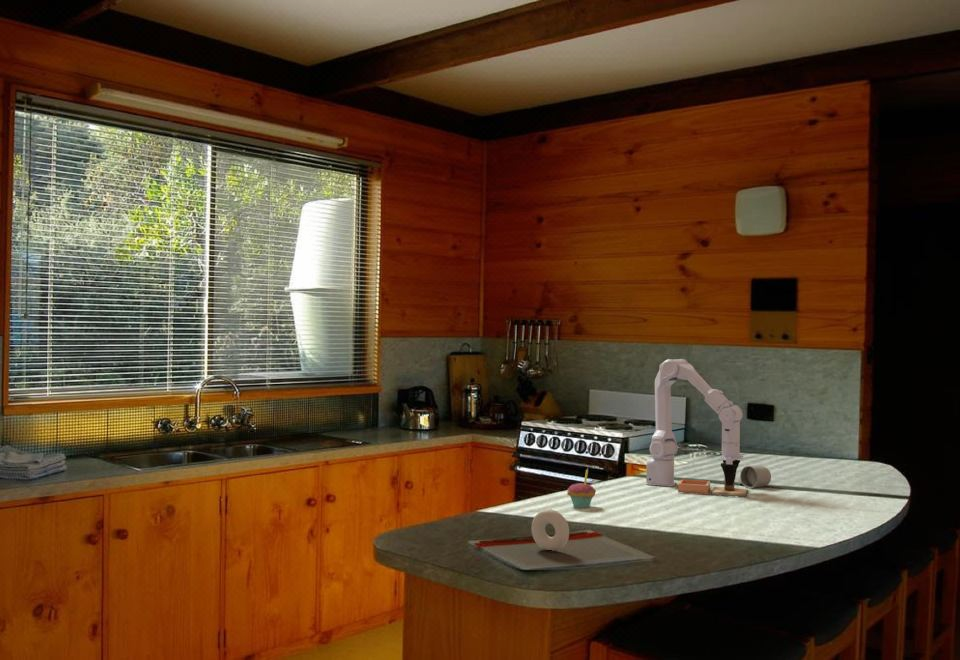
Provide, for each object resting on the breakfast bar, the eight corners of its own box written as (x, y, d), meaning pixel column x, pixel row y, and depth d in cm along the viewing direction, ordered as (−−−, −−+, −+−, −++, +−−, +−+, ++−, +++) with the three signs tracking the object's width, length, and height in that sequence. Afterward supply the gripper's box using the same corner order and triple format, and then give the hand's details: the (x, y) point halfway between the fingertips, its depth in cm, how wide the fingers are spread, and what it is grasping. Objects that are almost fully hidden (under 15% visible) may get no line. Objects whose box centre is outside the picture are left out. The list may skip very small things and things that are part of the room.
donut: (528, 549, 213) (528, 508, 213) (535, 546, 215) (535, 505, 215) (564, 555, 207) (565, 513, 207) (571, 552, 210) (572, 510, 210)
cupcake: (598, 505, 268) (599, 466, 268) (590, 510, 260) (590, 470, 260) (572, 503, 271) (572, 464, 271) (562, 508, 264) (563, 467, 264)
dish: (677, 492, 291) (678, 483, 291) (681, 488, 300) (681, 479, 300) (707, 494, 288) (707, 485, 288) (710, 489, 297) (710, 481, 297)
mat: (711, 495, 287) (711, 494, 287) (714, 488, 299) (714, 487, 299) (746, 497, 283) (746, 496, 283) (748, 491, 295) (748, 489, 295)
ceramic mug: (773, 487, 302) (772, 465, 303) (757, 489, 298) (757, 467, 298) (747, 483, 311) (747, 461, 311) (732, 485, 307) (732, 463, 307)
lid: (712, 493, 288) (712, 478, 288) (714, 488, 298) (714, 473, 298) (745, 495, 284) (745, 480, 284) (746, 490, 294) (746, 475, 294)
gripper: (742, 445, 283) (741, 487, 283) (744, 440, 296) (743, 480, 296) (719, 444, 285) (719, 486, 285) (722, 439, 299) (722, 479, 299)
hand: (730, 483), depth 291 cm, fingers open, 7 cm apart
